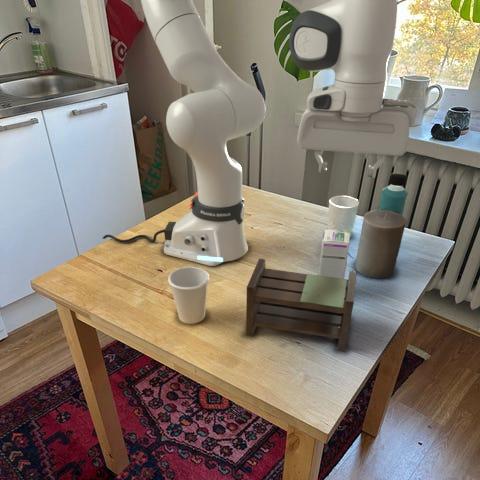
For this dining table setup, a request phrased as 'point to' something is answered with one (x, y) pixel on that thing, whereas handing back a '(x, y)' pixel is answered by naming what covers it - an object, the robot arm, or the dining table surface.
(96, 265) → the dining table surface
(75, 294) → the dining table surface
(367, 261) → the pillar candle
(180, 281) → the dixie cup
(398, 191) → the beverage bottle
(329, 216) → the white cup
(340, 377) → the dining table surface
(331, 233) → the syrup box
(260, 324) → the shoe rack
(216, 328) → the dining table surface
